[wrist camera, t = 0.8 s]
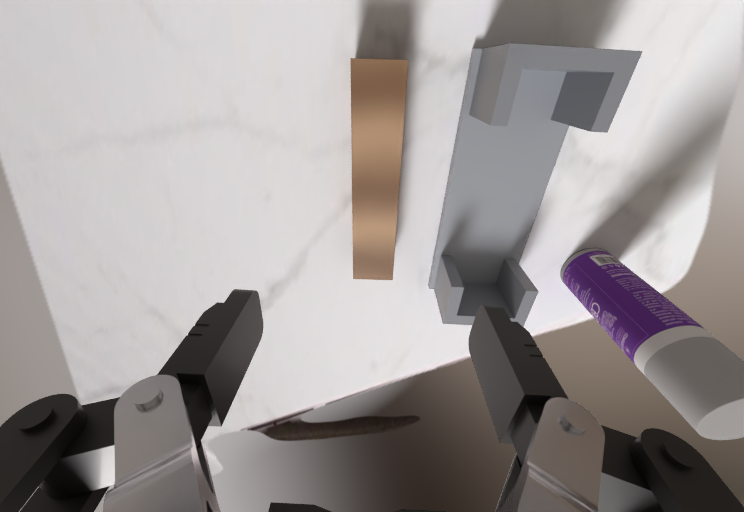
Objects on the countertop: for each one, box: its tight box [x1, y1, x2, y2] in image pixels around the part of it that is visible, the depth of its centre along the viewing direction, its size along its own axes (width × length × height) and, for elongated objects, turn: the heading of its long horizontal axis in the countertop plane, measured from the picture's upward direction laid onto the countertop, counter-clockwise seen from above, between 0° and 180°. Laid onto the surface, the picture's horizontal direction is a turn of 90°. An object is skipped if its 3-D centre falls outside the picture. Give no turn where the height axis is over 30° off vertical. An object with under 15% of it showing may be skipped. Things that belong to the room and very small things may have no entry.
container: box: [560, 248, 744, 440], centre depth 23 cm, size 5×5×15 cm
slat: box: [351, 58, 408, 280], centre depth 24 cm, size 16×3×4 cm, turn 179°
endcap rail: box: [428, 43, 642, 326], centre depth 23 cm, size 20×8×6 cm, turn 177°
